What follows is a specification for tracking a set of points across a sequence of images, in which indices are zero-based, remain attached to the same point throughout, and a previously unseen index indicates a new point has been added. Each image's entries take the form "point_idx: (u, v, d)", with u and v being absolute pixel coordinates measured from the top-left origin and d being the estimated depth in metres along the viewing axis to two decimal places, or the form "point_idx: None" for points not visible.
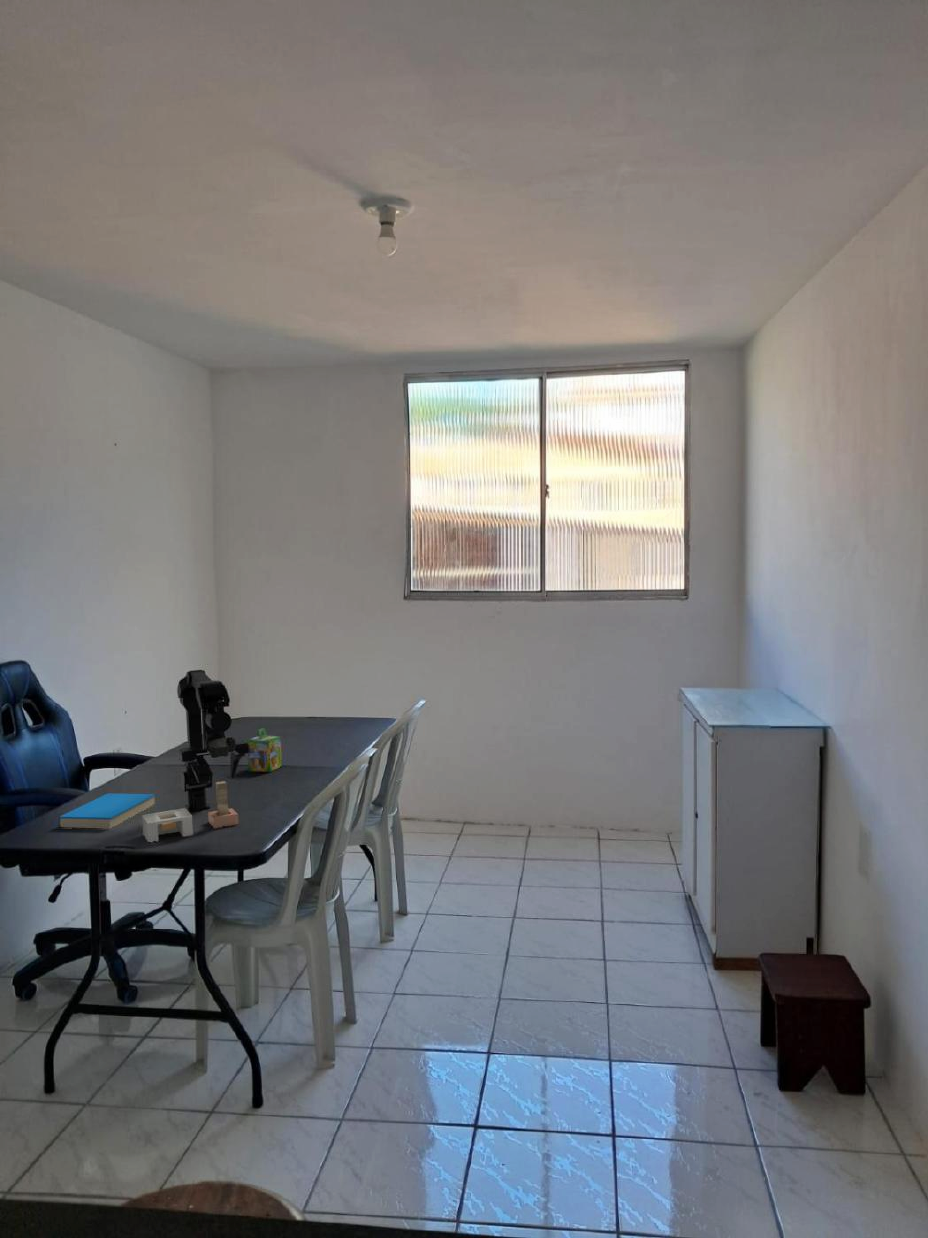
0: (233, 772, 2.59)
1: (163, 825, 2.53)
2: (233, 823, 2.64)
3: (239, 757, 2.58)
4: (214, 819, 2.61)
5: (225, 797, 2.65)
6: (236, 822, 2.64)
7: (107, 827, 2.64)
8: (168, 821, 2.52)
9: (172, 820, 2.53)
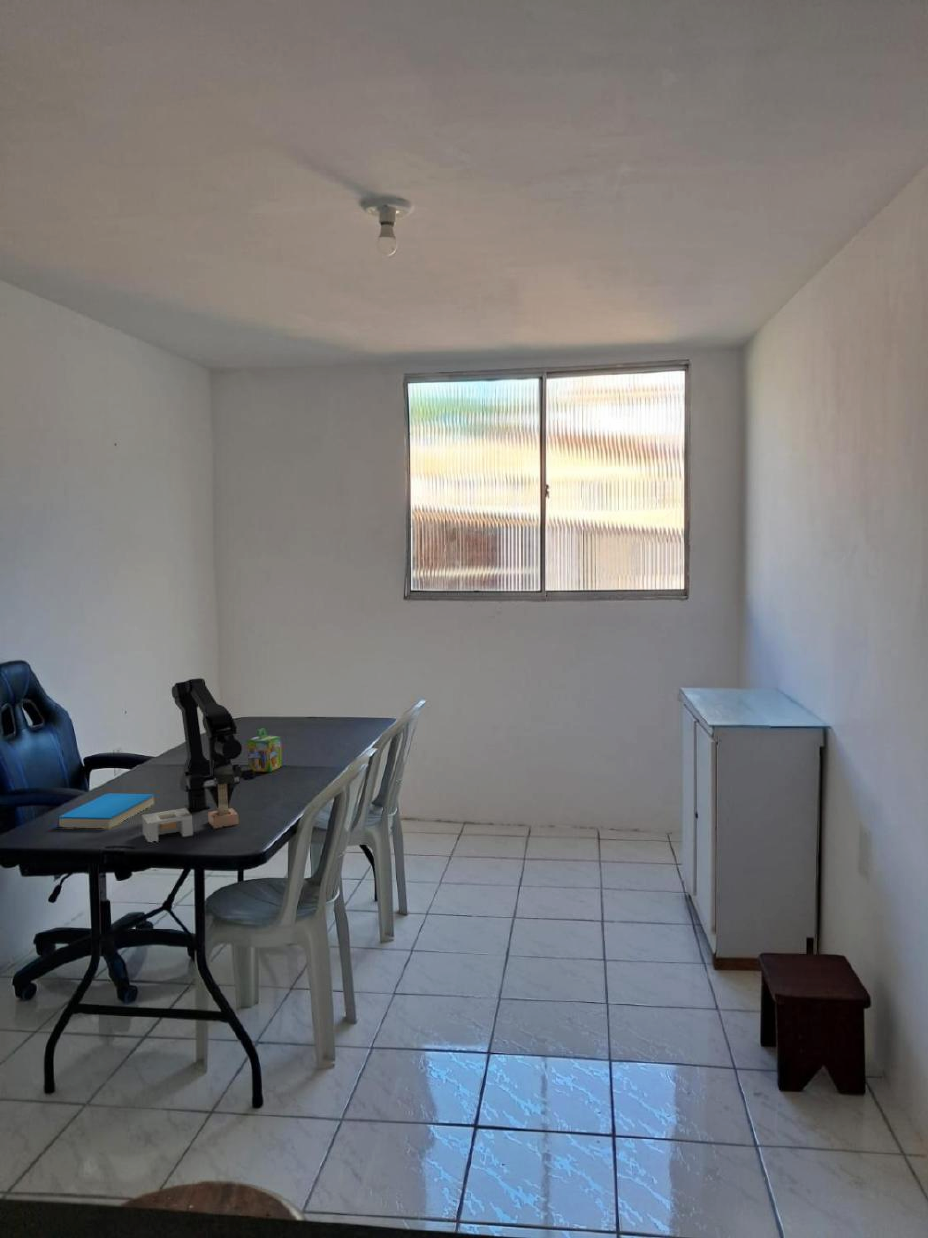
0: (228, 799, 2.66)
1: (163, 825, 2.53)
2: (233, 823, 2.64)
3: (234, 785, 2.64)
4: (214, 819, 2.61)
5: (225, 797, 2.65)
6: (236, 822, 2.64)
7: (106, 827, 2.65)
8: (168, 821, 2.52)
9: (172, 820, 2.53)
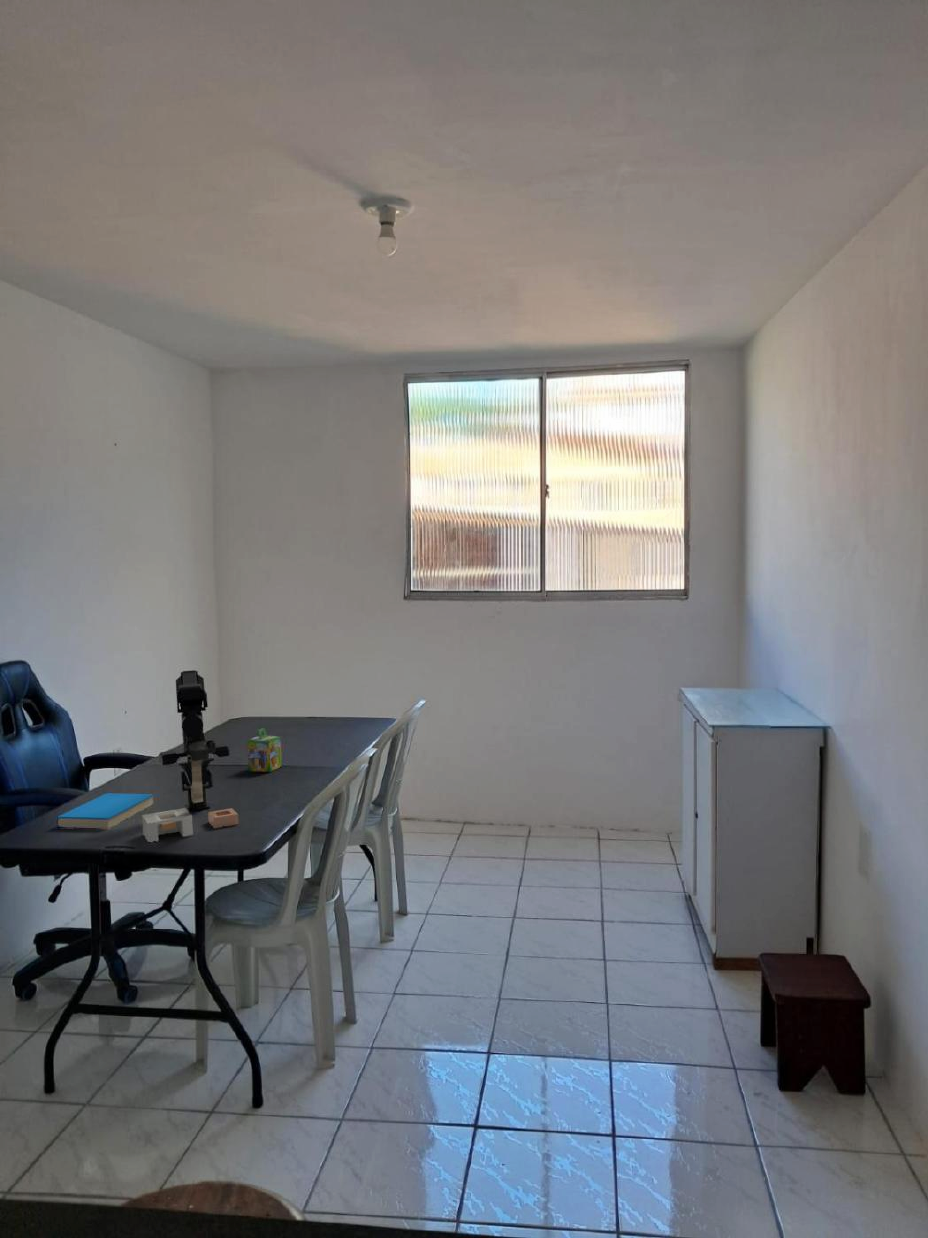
0: (202, 777, 2.60)
1: (163, 825, 2.53)
2: (233, 823, 2.64)
3: (208, 762, 2.59)
4: (214, 819, 2.61)
5: (199, 774, 2.59)
6: (236, 822, 2.64)
7: (105, 827, 2.65)
8: (168, 821, 2.52)
9: (172, 820, 2.53)
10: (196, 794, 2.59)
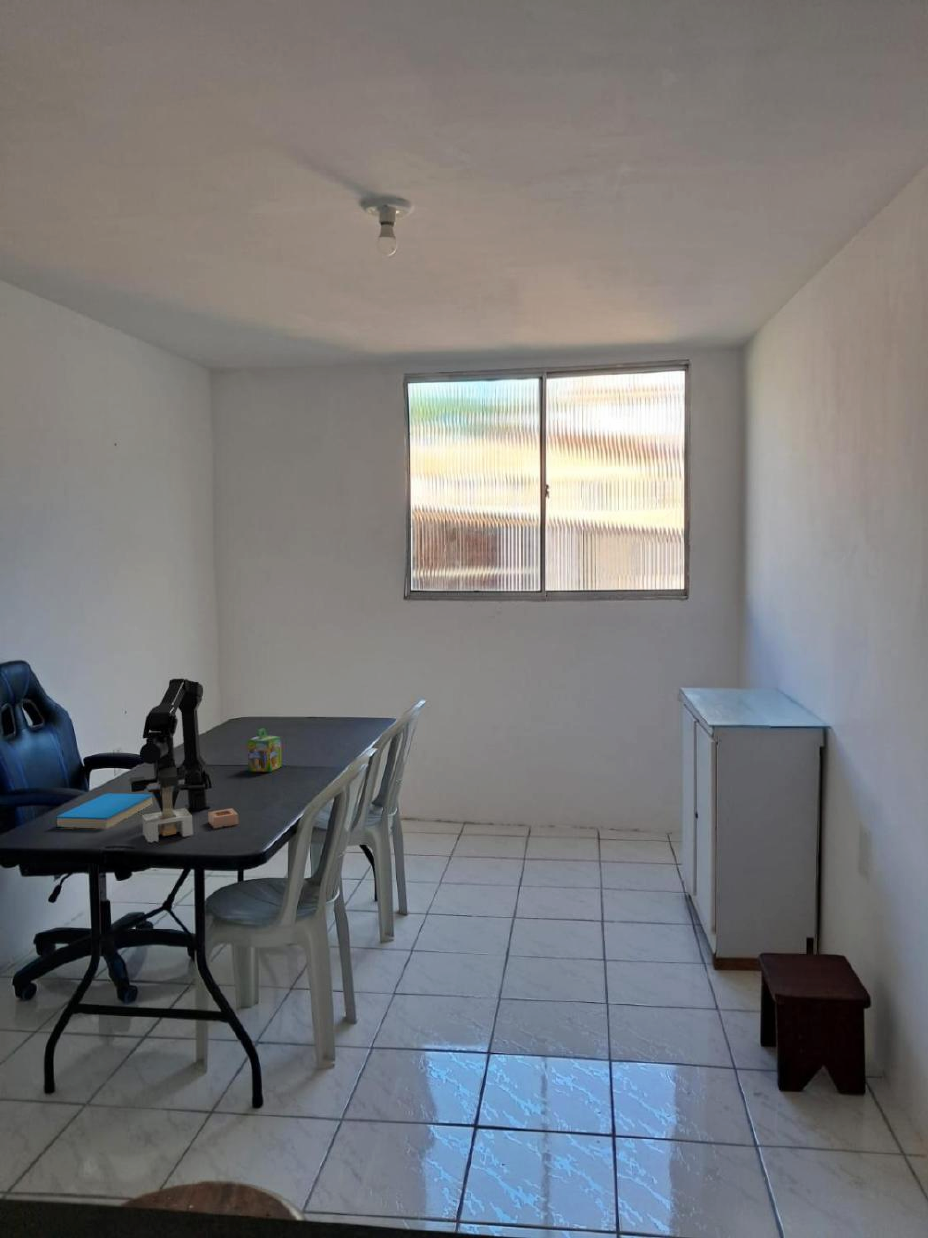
0: (173, 803, 2.55)
1: (163, 831, 2.54)
2: (233, 823, 2.64)
3: (179, 788, 2.54)
4: (214, 819, 2.61)
5: (170, 801, 2.54)
6: (236, 822, 2.64)
7: (103, 827, 2.65)
8: (168, 821, 2.52)
9: (172, 820, 2.53)
10: None
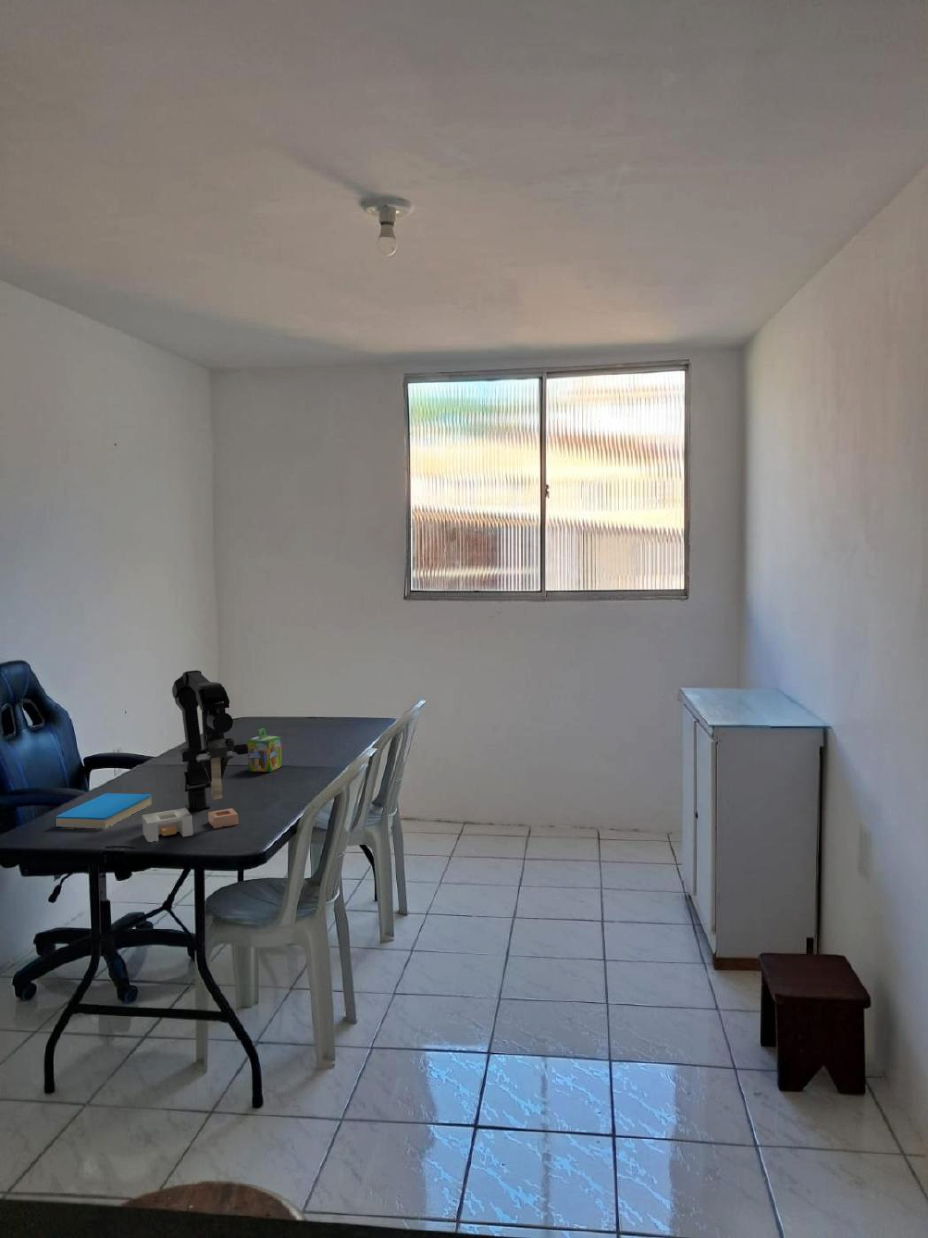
0: (221, 774, 2.64)
1: (163, 831, 2.54)
2: (233, 823, 2.64)
3: (227, 759, 2.63)
4: (214, 819, 2.61)
5: (218, 771, 2.63)
6: (236, 822, 2.64)
7: (102, 827, 2.65)
8: (168, 821, 2.52)
9: (172, 820, 2.53)
10: (216, 790, 2.63)
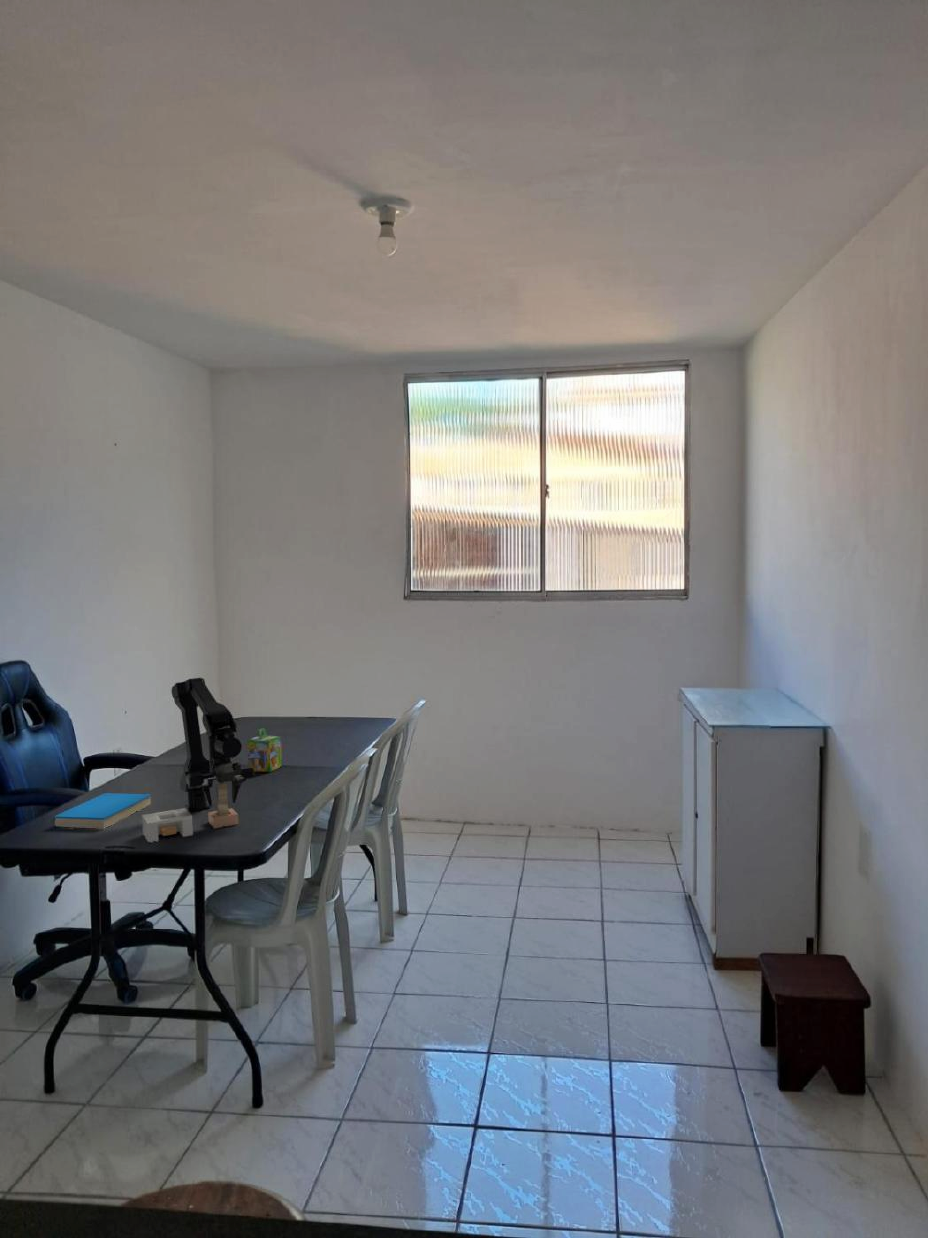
0: (234, 797, 2.66)
1: (163, 831, 2.54)
2: (233, 823, 2.64)
3: (240, 782, 2.65)
4: (214, 819, 2.61)
5: (225, 797, 2.65)
6: (236, 822, 2.64)
7: (101, 827, 2.65)
8: (168, 821, 2.52)
9: (172, 820, 2.53)
10: None
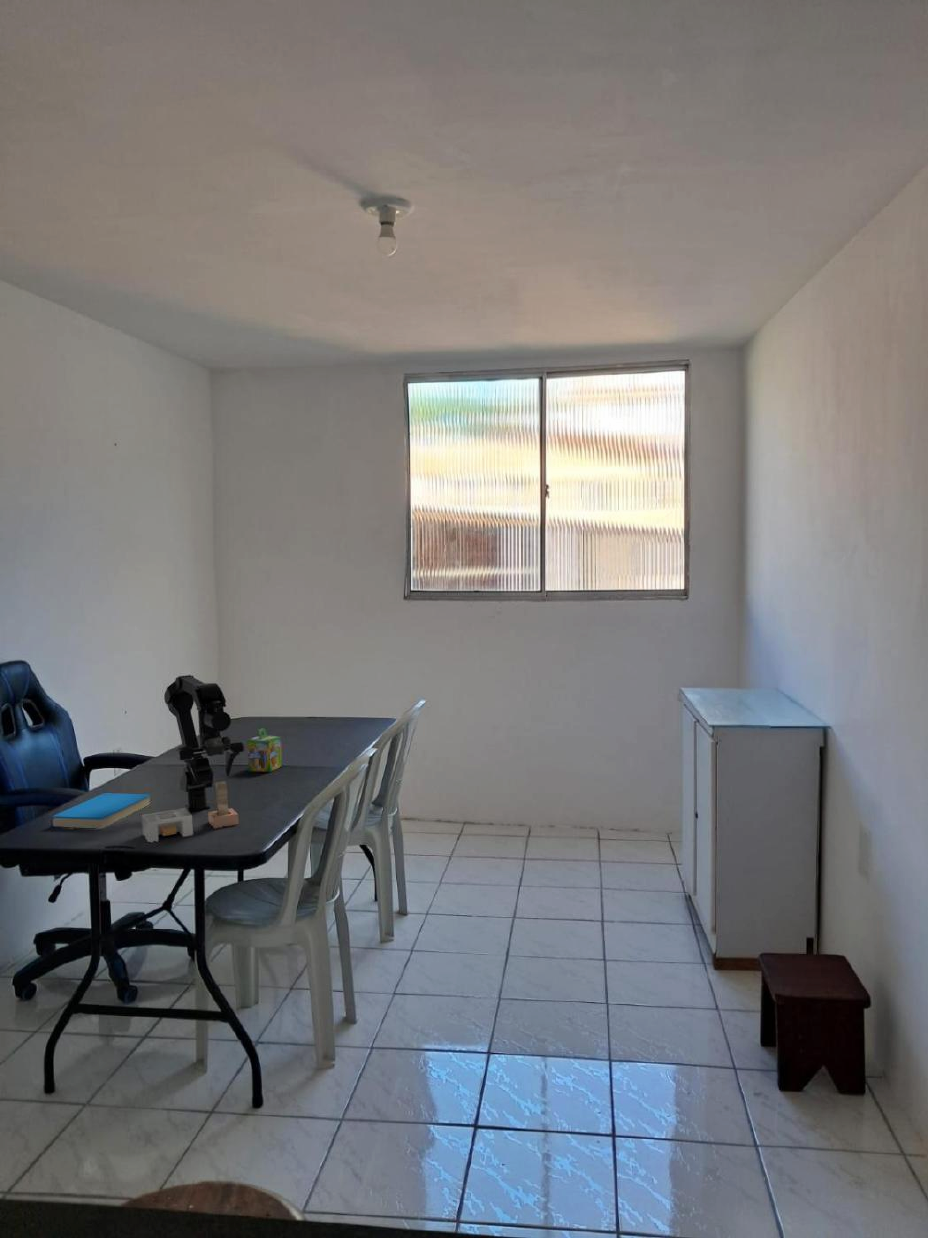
0: (228, 770, 2.72)
1: (163, 831, 2.54)
2: (233, 823, 2.64)
3: (234, 755, 2.71)
4: (214, 819, 2.61)
5: (225, 797, 2.65)
6: (236, 822, 2.64)
7: (98, 827, 2.65)
8: (168, 821, 2.52)
9: (172, 820, 2.53)
10: None
